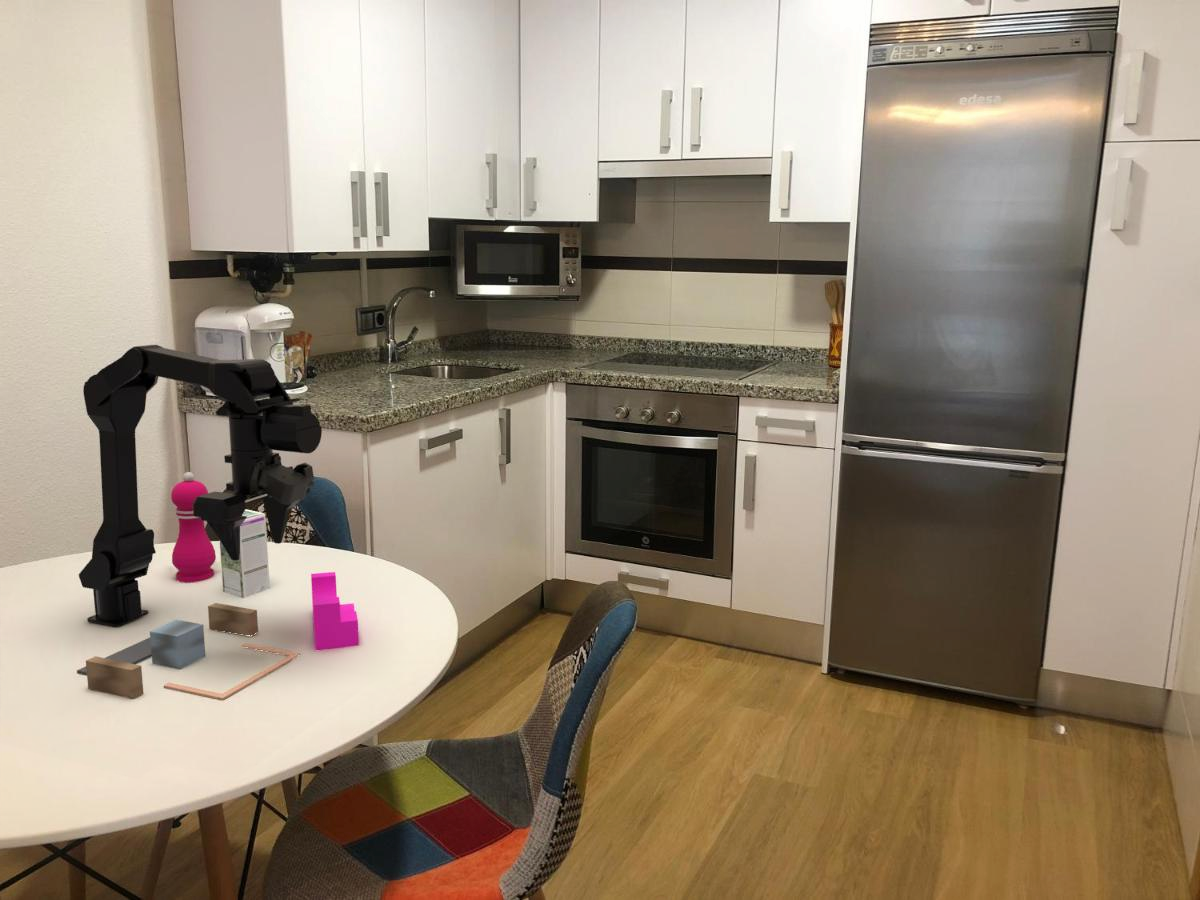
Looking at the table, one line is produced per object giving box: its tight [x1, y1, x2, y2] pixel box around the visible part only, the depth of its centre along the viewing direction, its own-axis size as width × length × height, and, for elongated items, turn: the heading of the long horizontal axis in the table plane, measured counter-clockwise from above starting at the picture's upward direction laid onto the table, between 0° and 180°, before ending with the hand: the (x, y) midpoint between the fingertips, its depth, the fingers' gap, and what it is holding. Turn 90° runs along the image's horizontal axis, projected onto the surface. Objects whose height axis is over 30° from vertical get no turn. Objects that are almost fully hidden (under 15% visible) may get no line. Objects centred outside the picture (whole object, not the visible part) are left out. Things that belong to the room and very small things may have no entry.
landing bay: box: [163, 643, 301, 701], centre depth 138 cm, size 10×16×1 cm, turn 159°
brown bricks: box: [85, 602, 259, 700], centre depth 141 cm, size 8×24×4 cm, turn 159°
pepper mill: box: [170, 471, 217, 584], centre depth 173 cm, size 7×7×20 cm
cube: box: [149, 619, 206, 670], centre depth 141 cm, size 5×5×5 cm
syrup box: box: [219, 509, 271, 599], centre depth 167 cm, size 6×6×14 cm
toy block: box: [310, 571, 360, 651], centre depth 152 cm, size 15×6×8 cm, turn 17°
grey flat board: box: [76, 637, 152, 676], centre depth 144 cm, size 5×18×1 cm, turn 159°
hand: (257, 551), depth 144 cm, fingers open, 9 cm apart
